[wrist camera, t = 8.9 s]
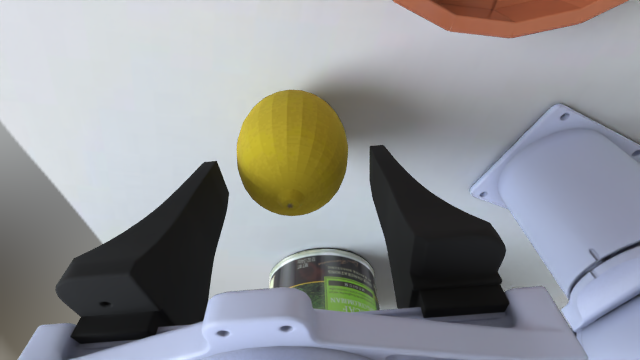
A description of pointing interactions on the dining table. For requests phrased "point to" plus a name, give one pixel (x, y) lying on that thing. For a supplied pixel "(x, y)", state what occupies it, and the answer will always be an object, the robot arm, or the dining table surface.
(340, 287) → the coffee can
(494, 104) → the dining table surface
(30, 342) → the robot arm
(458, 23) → the bowl
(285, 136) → the lemon
